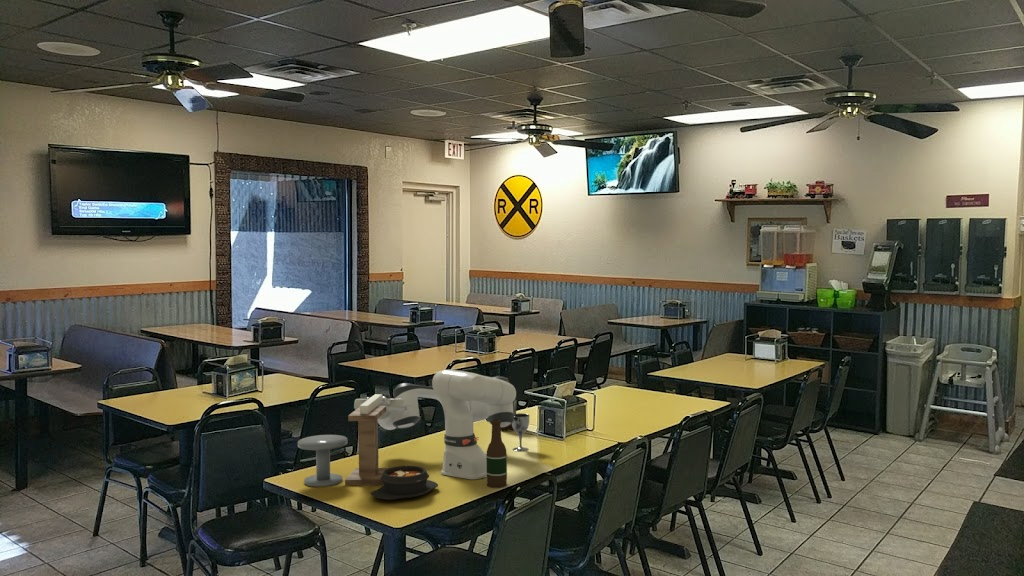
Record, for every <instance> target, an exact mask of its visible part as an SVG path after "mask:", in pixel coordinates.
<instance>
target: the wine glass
mask: <svg viewBox="0 0 1024 576" xmlns="http://www.w3.org/2000/svg"><path fill="white" fill-rule="evenodd" d="M529 425H530V414H529V413H522V412H521V413H516V414H514V421H513V423H512V427H513V429H514V430H513V431H514V432H515V433H516V434H517V435H518V440H519V446H518V447H513V448H512V451H514V452H518V453H519V452H528V451H529V449H530V448H528V447H523V446H522V441H523V435H524V434H525V433H526V431H527V430H528V428H529V427H530V426H529Z"/></svg>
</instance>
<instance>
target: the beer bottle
mask: <svg viewBox="0 0 1024 576" xmlns="http://www.w3.org/2000/svg"><path fill="white" fill-rule="evenodd" d="M491 423H492V425H491V439H490V442H489V444H488V446H487V449H486V455H487V456H486V460H487V477H486V486H487V487H489V488H493V489H496V488H499V489H502V488H503V487H504V488H505V487H507V481H508V472H507V471H508V467H507V466H508V465H507V464H508V462H507V461H508V459H507V458H508V457H507V455H508V454H507V447H506V445H505V443H504V442H503V440H502V431H501V426H500V423H501V420H499V419H493V420H492V422H491Z"/></svg>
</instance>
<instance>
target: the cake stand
mask: <svg viewBox="0 0 1024 576" xmlns="http://www.w3.org/2000/svg"><path fill="white" fill-rule="evenodd" d="M346 445H348V437H346V436H345V435H339V434H319V435H318V434H317V435H311V436H306V437H303V438H300V439H299V440H298V441H297V447H298V449H301V450H304V451H315V461H316V462H315V463H316V464H315V467H316V471H315V472H316V474H313V475H309V476H306V477H305V478H304V479H303V483H305V484H306V485H305V484H304V485H305V486H307V485H308V486H307V487H311V486H314V487H313V488H321V487H320V486H323V487H324V486H325V487H331V486H335V485H338V484H340V483H342V482H343V475H341V474H338V473H334V472H333V473H332V472H331V453H330V452H331V450H333V449H339V448H342V447H344V446H346ZM323 487H322V488H323ZM325 487H324V488H325Z"/></svg>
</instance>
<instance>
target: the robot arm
mask: <svg viewBox="0 0 1024 576" xmlns="http://www.w3.org/2000/svg"><path fill="white" fill-rule="evenodd" d="M506 378H507V377H505V376H502V375H501V376H500V375H497V376H493V377H490V376H486V375H482V374H480V373H479V374H478V373H475V372H471V371H470V372H469V371H463V370H456V369H444V370H443V369H442V370H439V371H437V372H435V374H434V375H433V377H432V382H431V386H426V385H418V384H413V383H409V382H403V383H399V384H397V386H396V387H395V388H394V389H393V392H392V395H393V398H388V397H386V396H382V402H381V403H380V404H379V405H378V406H386V412H385V413H384V414H383V415H381V416H380V417H379V418H378V425H379V426H380V427H381V428H383V429H385V430H388V431H392V430H395V429H399V430H400V429H401V430H403V429H404V430H405V429H409V428H413V426H415V425H416V424H417V423H418V422H419V420H420V418H421V417H420V409H419V401H418V398H423V399H424V398H425V399H433V400H437V401H438V402H440V404H441V406H442V409H443V414H444V423H445V424H444V431H445V432H444V438H443V440H444V442H443V443H444V451H443V461H442V467H441V472H440V474H441V475H444V476H449V477H455V478H461V479H466V480H479V479H484V478H487V460H486V456H487V453H485V452H484V450H483V449H482V448H481V447H480V446H479V444H478V441H479V438H480V437H478V436H476V435H475V432H474V422H480V421H484V420H485V421H486V422H487V423H489V424H490V425H491V426H492V423H491V422H492V420H493V419H499V420H501V423H500V426H501V427H506V426H508V425H511V424H512V423H513V421H514V413H513V401H514V400H515V398H516V397H517V390H516V388H515V386H514V385H513V384H512V383H510V380H509V381H508V379H506ZM371 397H372V396H367V397H366V398H356V399H355V400H354V404H353V409H354V411H355V410H356V409H358V408H359V407H360V405H361V404H363V403H364V402H365V401H367V400H368V399H369V398H371Z"/></svg>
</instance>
